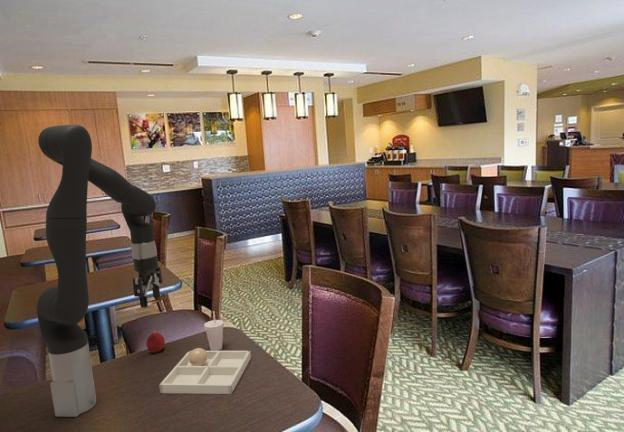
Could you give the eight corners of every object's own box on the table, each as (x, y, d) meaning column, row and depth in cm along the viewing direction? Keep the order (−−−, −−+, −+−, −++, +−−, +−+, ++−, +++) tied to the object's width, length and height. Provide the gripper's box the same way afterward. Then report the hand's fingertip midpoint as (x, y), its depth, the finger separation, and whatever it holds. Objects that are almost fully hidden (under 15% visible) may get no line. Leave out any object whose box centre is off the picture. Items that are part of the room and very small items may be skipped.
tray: (231, 396, 116) (230, 385, 115) (160, 395, 118) (159, 384, 118) (251, 360, 136) (250, 350, 135) (189, 360, 138) (188, 350, 138)
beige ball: (204, 370, 129) (202, 353, 128) (186, 370, 130) (185, 353, 129) (211, 361, 135) (209, 344, 134) (194, 361, 135) (192, 344, 135)
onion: (159, 357, 141) (157, 334, 140) (144, 356, 142) (141, 334, 141) (169, 349, 147) (166, 327, 146) (153, 348, 148) (151, 327, 147)
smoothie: (215, 356, 139) (211, 316, 137) (202, 352, 143) (198, 312, 141) (230, 349, 144) (226, 309, 142) (217, 344, 148) (213, 306, 146)
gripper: (145, 250, 147) (150, 295, 150) (122, 261, 133) (128, 310, 136) (165, 249, 146) (171, 295, 149) (144, 260, 132) (151, 310, 135)
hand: (150, 302), depth 142 cm, fingers open, 8 cm apart
